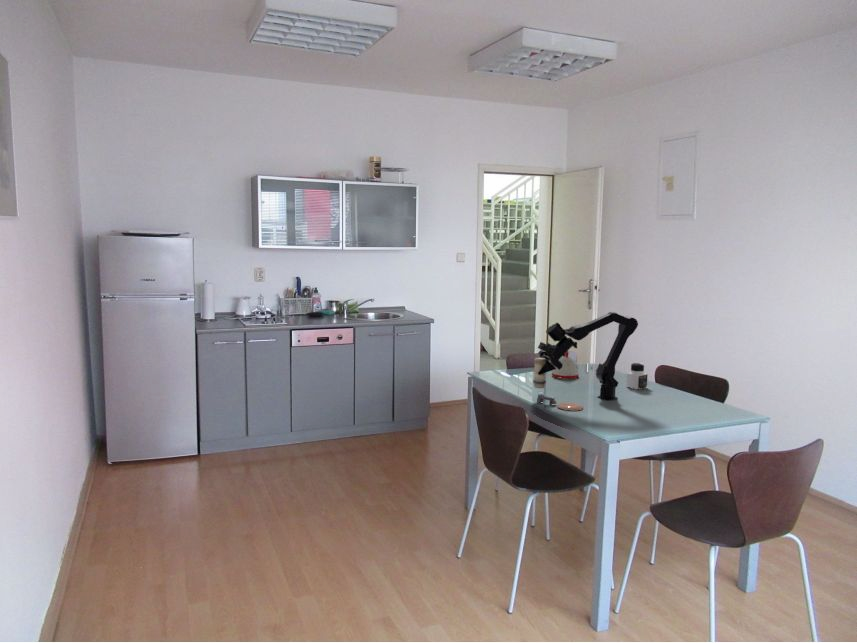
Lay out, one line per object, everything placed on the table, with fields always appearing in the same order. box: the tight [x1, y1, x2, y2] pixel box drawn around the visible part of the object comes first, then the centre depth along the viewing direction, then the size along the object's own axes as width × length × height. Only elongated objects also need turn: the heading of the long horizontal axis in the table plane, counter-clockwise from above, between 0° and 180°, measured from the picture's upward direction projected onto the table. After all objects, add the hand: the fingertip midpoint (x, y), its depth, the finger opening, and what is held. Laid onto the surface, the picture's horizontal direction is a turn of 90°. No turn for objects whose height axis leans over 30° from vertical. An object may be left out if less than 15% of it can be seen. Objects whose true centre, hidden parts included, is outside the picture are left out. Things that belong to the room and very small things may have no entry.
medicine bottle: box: [625, 362, 649, 390], centre depth 315 cm, size 7×7×12 cm
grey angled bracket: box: [536, 391, 557, 405], centre depth 286 cm, size 7×13×3 cm, turn 30°
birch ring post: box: [532, 357, 547, 389], centre depth 288 cm, size 6×6×13 cm
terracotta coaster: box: [556, 402, 584, 412], centre depth 278 cm, size 11×11×1 cm
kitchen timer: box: [551, 350, 579, 379], centre depth 339 cm, size 14×14×15 cm
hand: (536, 372), depth 288 cm, fingers closed on birch ring post, 5 cm apart
